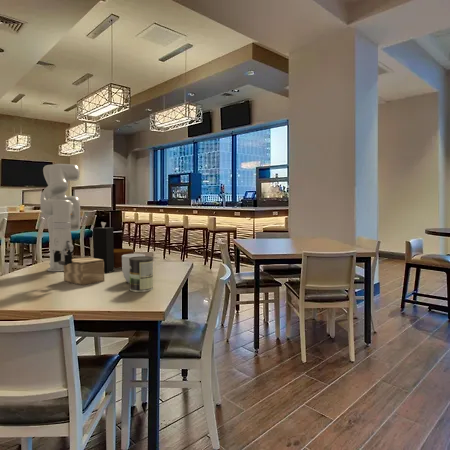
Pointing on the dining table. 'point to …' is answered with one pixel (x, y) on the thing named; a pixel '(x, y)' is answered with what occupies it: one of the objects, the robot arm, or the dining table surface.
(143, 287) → the coffee can
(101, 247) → the tissue box
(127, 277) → the mug
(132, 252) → the brown block
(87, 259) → the flap
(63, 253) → the robot arm
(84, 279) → the carton
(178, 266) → the dining table surface
